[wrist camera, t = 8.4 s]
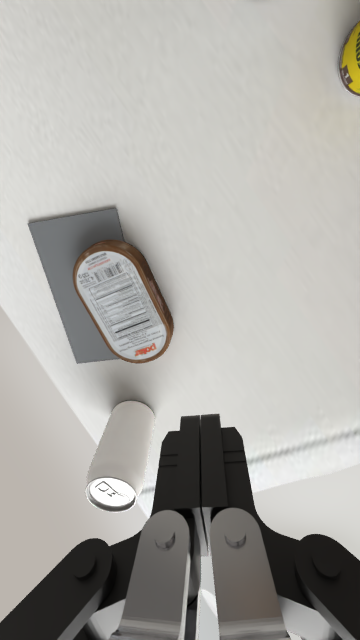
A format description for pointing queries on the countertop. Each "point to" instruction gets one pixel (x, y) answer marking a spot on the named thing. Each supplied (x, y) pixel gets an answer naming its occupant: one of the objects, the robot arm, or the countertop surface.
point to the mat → (58, 262)
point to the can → (121, 458)
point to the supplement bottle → (350, 62)
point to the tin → (123, 300)
